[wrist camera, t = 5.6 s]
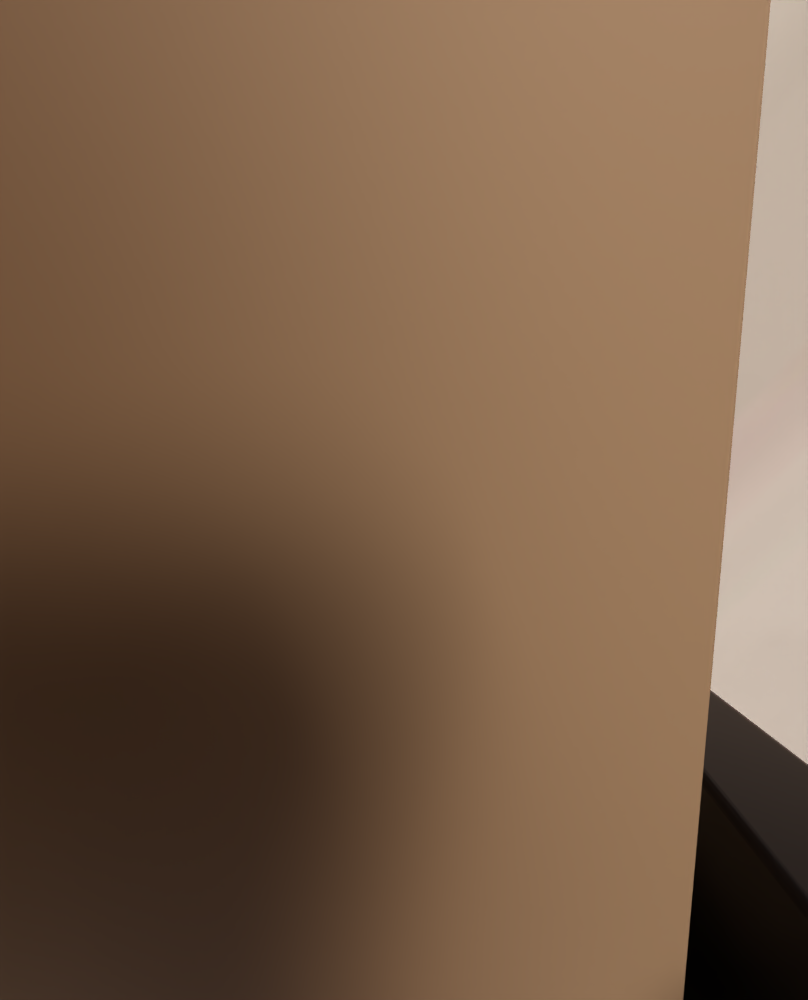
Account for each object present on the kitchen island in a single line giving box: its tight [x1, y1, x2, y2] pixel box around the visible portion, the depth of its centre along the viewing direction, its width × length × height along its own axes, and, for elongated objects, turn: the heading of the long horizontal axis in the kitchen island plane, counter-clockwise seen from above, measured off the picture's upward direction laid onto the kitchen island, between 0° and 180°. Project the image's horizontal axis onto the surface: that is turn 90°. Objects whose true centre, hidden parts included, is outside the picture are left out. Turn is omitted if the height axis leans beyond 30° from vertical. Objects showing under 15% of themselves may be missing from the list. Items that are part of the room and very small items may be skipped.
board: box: [0, 0, 771, 1000], centre depth 8 cm, size 6×14×6 cm, turn 5°
